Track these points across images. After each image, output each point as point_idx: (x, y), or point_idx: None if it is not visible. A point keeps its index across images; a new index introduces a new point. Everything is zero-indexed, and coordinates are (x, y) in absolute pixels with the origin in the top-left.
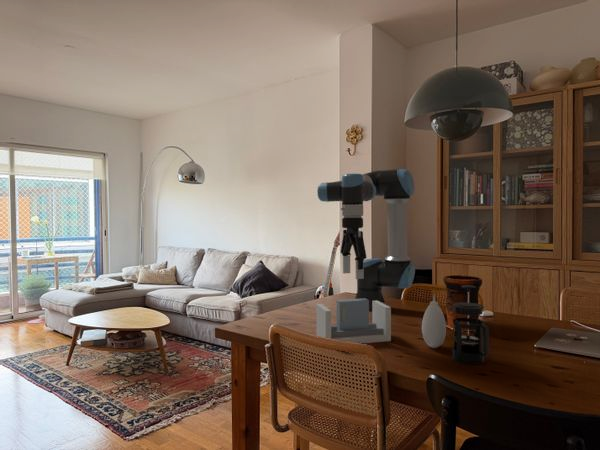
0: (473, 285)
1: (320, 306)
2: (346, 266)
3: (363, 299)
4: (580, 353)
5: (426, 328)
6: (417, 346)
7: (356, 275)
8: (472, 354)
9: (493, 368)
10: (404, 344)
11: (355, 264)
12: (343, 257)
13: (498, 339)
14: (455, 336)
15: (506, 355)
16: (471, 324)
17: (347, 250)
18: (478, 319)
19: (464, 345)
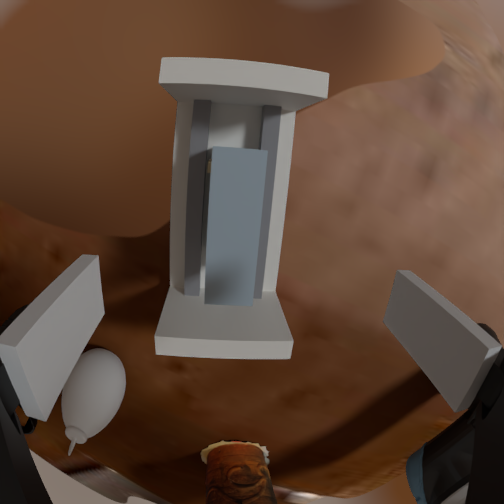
0: None
1: (268, 67)
2: (418, 321)
3: (228, 287)
4: (79, 476)
5: (76, 366)
6: (117, 330)
7: (69, 266)
8: None
9: None
10: (136, 311)
11: (40, 315)
12: (479, 341)
13: (146, 459)
14: None
15: (63, 420)
16: (206, 468)
17: (492, 432)
18: (24, 433)
19: None
